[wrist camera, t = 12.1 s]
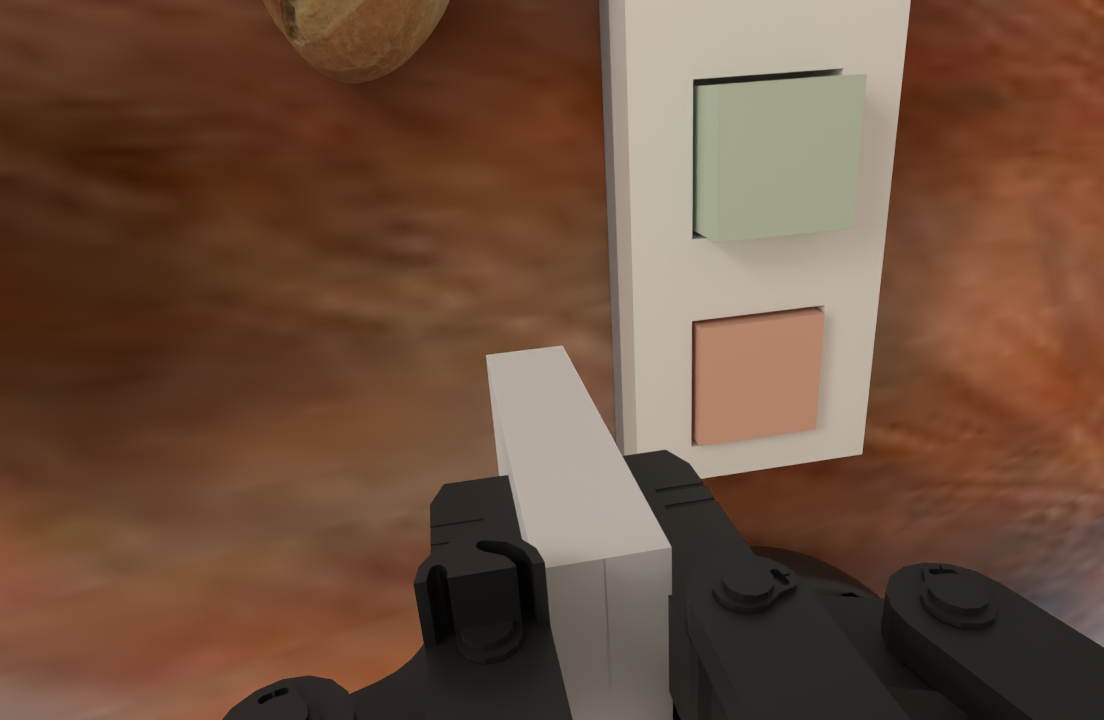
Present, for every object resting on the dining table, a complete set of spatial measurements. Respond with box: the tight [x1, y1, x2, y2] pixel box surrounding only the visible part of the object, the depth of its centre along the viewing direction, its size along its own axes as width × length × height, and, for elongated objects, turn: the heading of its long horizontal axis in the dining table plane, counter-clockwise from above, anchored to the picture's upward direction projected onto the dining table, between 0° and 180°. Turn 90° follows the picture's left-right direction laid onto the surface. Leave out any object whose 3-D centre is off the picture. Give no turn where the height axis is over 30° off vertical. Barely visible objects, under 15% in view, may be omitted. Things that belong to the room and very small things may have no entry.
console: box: [599, 0, 911, 479], centre depth 37 cm, size 14×36×5 cm, turn 4°
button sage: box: [693, 74, 867, 243], centre depth 34 cm, size 7×7×3 cm
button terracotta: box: [691, 307, 825, 446], centre depth 40 cm, size 7×7×3 cm
